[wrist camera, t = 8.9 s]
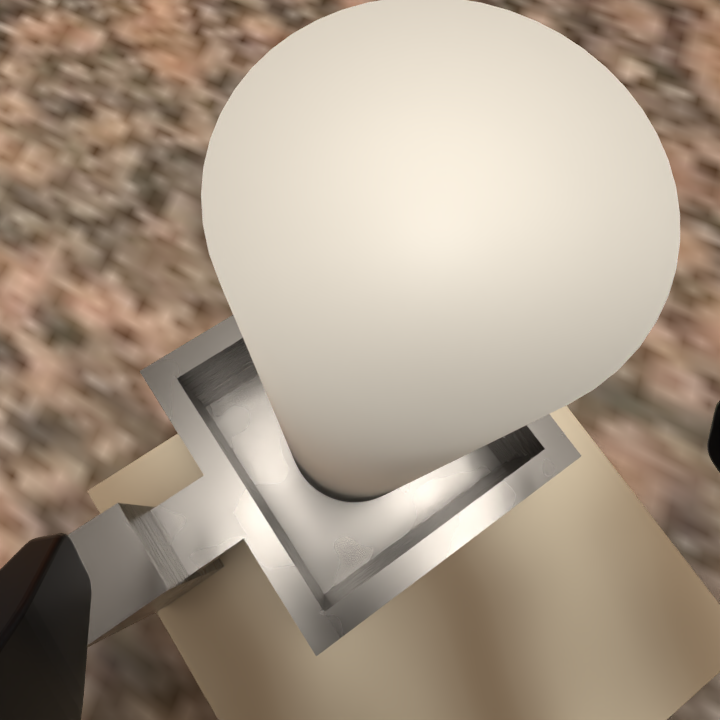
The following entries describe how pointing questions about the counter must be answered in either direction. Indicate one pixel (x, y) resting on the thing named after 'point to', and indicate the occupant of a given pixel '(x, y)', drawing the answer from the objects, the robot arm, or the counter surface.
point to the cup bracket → (289, 506)
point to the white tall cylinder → (433, 233)
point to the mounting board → (463, 616)
